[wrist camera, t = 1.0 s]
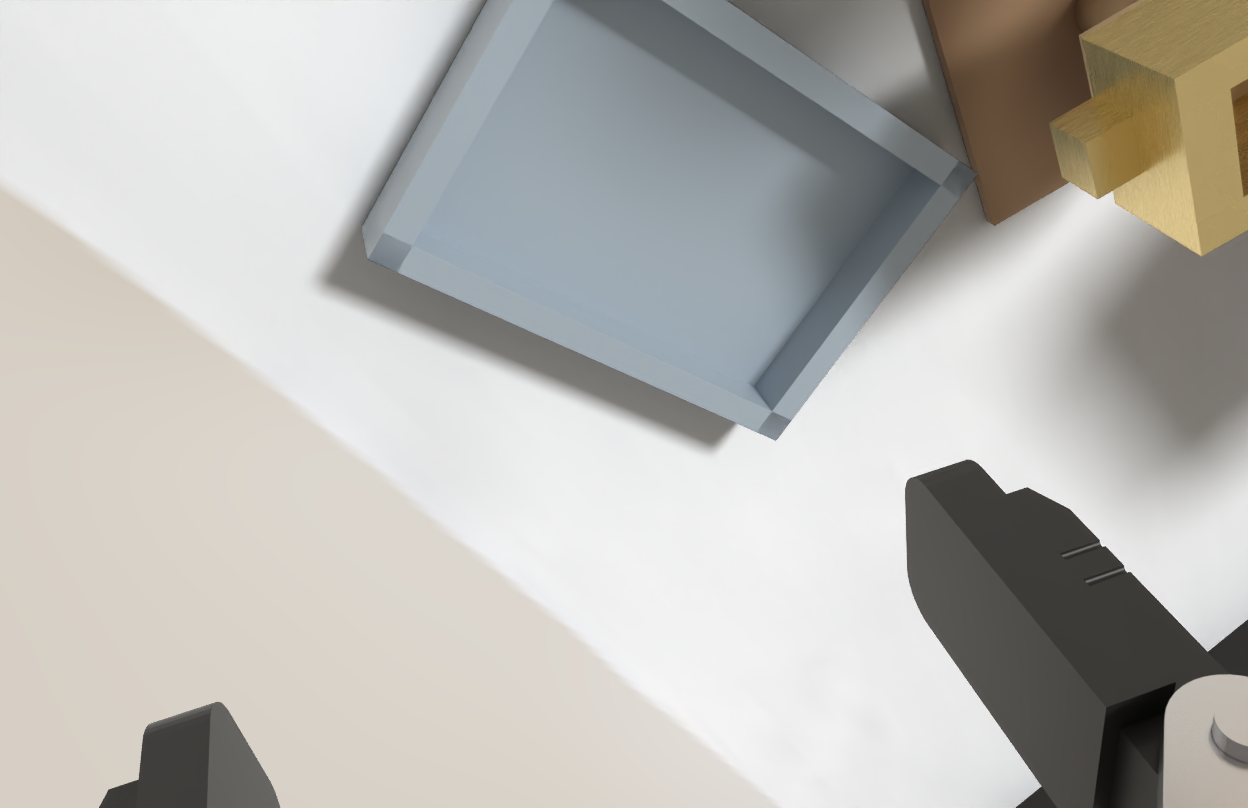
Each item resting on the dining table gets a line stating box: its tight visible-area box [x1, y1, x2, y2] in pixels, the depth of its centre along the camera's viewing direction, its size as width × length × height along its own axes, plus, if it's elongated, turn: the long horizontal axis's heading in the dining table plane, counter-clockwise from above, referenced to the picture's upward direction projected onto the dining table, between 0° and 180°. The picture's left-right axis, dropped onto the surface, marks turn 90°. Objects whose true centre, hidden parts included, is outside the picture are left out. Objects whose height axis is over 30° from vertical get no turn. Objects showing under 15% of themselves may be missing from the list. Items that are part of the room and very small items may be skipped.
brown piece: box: [922, 0, 1248, 226], centre depth 36 cm, size 12×12×6 cm
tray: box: [361, 0, 978, 440], centre depth 37 cm, size 17×12×2 cm
